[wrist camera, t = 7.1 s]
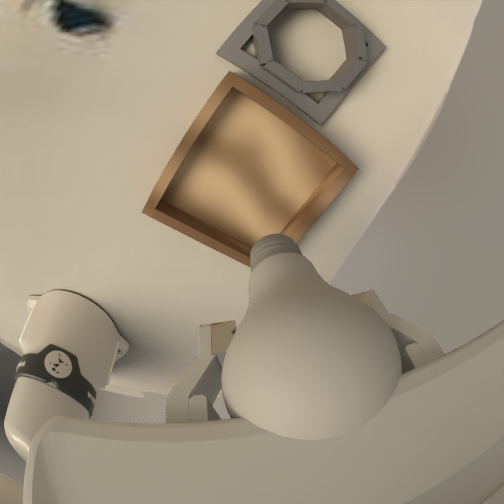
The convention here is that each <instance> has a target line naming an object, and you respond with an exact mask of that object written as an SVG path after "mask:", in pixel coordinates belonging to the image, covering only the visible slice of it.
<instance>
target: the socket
mask: <svg viewBox="0 0 504 504" xmlns="http://www.w3.org/2000/svg"><path fill="white" fill-rule="evenodd" d="M282 9H316V10H318V11H319V12H320V13H322V14H323V15H324V16H326V17H327V18H328V19H330V20H331V21H332V22H333V23H335V24H336V25H337V26H338V27H339V28H341V29H342V33H343V38H344V44H345V50H346V56H347V59H346V60H345V62H344V63H343V64H342V65H341V66H340V68H339V69H338V70H337V71H336V72H335V73H334V75H333V76H332V77H331V78H330V79H329V80H327V81H309V82H303V81H302V80H301V79H299V78H298V77H297V76H295V75H294V74H293V73H291V72H290V71H288V70H287V69H286V68H284V67H283V66H281V65H280V64H279V63H277V62H276V61H274V60H273V56H272V50H271V45H270V40H269V35H268V30H267V25H268V24H269V23H270V22H271V21H272V20H273V19H274V18H275V17H276V16H277V15H278V13H279V12H280V11H281V10H282ZM251 36H252V39H253V44H254V49H255V54H256V58H254V57H252V56H251V55H249V54H248V53H246V52H244V51H243V50H241V48H242V46H243V45H244V44H245V43H246V42H247V40H248V39H249V38H250V37H251ZM385 47H386V46H385V45H384V44H383V43H382V42H381V41H380V40H379V39H378V38H377V37H376V36H375V35H374V34H373V33H372V32H371V31H370V30H369V29H368V28H367V27H366V26H365V25H363V24H362V23H361V22H360V21H359V20H358V19H357V18H356V17H355V16H353V15H352V14H351V13H350V12H349V11H347V10H346V9H345V8H344V7H343V6H341V5H340V4H339V3H338V2H336V1H335V0H262V1H261V2H260V3H259V4H258V5H257V6H256V7H255V8H254V9H253V10H252V11H251V13H250V14H249V15H248V16H247V17H246V18H245V19H244V20H243V21H242V22H241V24H240V25H239V26H238V27H237V28H236V29H235V31H234V32H233V33H232V34H231V35H230V36H229V38H228V39H227V40H226V41H225V43H224V44H223V45H222V46H221V48H220V49H219V50H218V51H217V53H216V54H217V55H218V56H220V57H222V58H224V59H225V60H227V61H229V62H230V63H232V64H234V65H235V66H237V67H239V68H240V69H242V70H244V71H245V72H247V73H248V74H250V75H251V76H253V77H255V78H256V79H258V80H259V81H261V82H262V83H264V84H265V85H267V86H268V87H270V88H271V89H272V90H274V91H275V92H277V93H278V94H280V95H281V96H282V97H284V98H285V99H286V100H288V101H289V102H291V103H292V104H293V105H295V106H296V107H297V108H299V109H300V110H301V111H302V112H304V113H305V114H306V115H308V116H309V117H310V118H311V119H313V120H314V121H315V122H316V123H318V124H319V125H322V124H323V122H324V121H325V120H326V119H327V117H328V116H329V115H330V114H331V112H332V111H333V110H334V109H335V107H336V106H337V105H338V104H339V102H340V101H341V100H342V99H343V97H344V96H345V95H346V94H347V93H348V91H349V90H350V89H351V88H352V86H353V85H354V84H355V83H356V82H357V80H358V79H359V78H360V77H361V76H362V74H363V73H364V72H365V71H366V69H367V68H368V67H369V66H370V65H371V64H372V62H373V61H374V60H375V59H376V58H377V56H378V55H379V54H380V53H381V52H382V50H383V49H384V48H385ZM324 91H326V92H325V93H324V95H323V96H322V97H321V98H320V99H319V101H318V102H317V103H316V102H315V101H314V100H313V99H311V98H310V97H309V96H308V95H306V94H305V93H310V92H324Z"/></svg>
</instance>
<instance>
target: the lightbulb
mask: <svg viewBox="0 0 504 504" xmlns="http://www.w3.org/2000/svg"><path fill="white" fill-rule="evenodd" d="M250 265H251V272H252V273H251V276H250V279H249V294H250V297H249V306H248V309H247V313H246V315H245V317H244V318H243V320H242V322H241V323H240V325H239V327H238V328H237V330H236V332H235V334H234V336H233V338H232V340H231V342H230V344H229V346H228V348H227V350H226V354H225V358H224V363H223V368H222V374H221V384H222V393H223V398H224V401H225V405H226V407H227V411H228V413H229V415H230V417H231V419H232V418H244V419H247V420H249V421H250V422H252V423H253V424H255V425H256V426H258V427H260V428H262V429H265V430H268V431H270V432H273V433H275V434H277V435H280V436H284V437H289V438H296V439H303V440H320V439H326V438H332V437H336V436H339V435H343V434H345V433H348V432H350V431H353V430H355V429H357V428H359V427H361V426H363V425H364V424H366V423H367V422H368V421H369V420H371V419H372V418H373V417H374V416H375V415H376V414H377V413H378V412H379V411H380V410H381V409H382V408H383V407H384V406H385V405H386V404H387V403H388V401H389V399H390V397H391V396H392V394H393V392H394V390H395V389H396V387H397V384H398V381H399V378H400V376H401V374H402V364H401V356H400V353H399V349H398V345H397V342H396V339H395V336H394V334H393V333H392V331H391V329H390V327H389V325H388V324H387V323H386V322H385V321H384V320H383V319H382V318H381V317H380V316H379V315H378V314H377V313H376V312H375V311H374V310H373V309H372V308H371V307H370V306H369V305H367V304H366V303H364V302H362V301H360V300H359V299H357V298H355V297H353V296H351V295H350V294H348V293H345V292H344V291H342V290H339V289H337V288H334V287H332V286H331V285H329V284H328V283H327V282H325V281H324V280H323V279H322V277H321V276H320V275H319V274H318V273H317V271H316V269H315V268H314V266H313V264H312V263H311V262H310V261H309V260H308V259H307V258H306V257H304V256H303V255H302V253H301V251H300V250H299V248H298V246H297V244H296V243H295V242H294V240H293V239H292V238H290V237H289V236H287V235H284V234H270V235H267V236H264V237H262V238H261V239H259V240H258V241H257V242H256V243H255V244H254V245H253V247H252V249H251V252H250Z"/></svg>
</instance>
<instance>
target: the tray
mask: <svg viewBox="0 0 504 504" xmlns="http://www.w3.org/2000/svg"><path fill="white" fill-rule="evenodd" d="M358 169H359V168H358V167H357V166H356V165H355V164H353V163H352V162H351V161H350V160H349V159H348V158H347V157H346V156H345V155H343V154H342V153H341V152H340V151H339V150H338V149H337V148H335V147H334V146H333V145H332V144H331V143H330V142H328V141H327V140H326V139H325V138H324V137H322V136H321V135H320V134H319V133H317V132H316V131H315V130H314V129H312V128H311V127H310V126H309V125H307V124H306V123H305V122H303V121H302V120H301V119H300V118H298V117H297V116H296V115H294V114H293V113H292V112H290V111H289V110H288V109H286V108H285V107H283V106H282V105H281V104H279V103H278V102H276V101H275V100H274V99H272V98H271V97H269V96H268V95H266V94H265V93H263V92H262V91H260V90H259V89H257V88H256V87H254V86H253V85H251V84H250V83H248V82H247V81H245V80H243V79H242V78H240V77H239V76H237V75H235V74H234V73H232V72H230V71H229V72H228V73H227V75H226V76H225V77H224V79H223V80H222V81H221V83H220V84H219V85H218V87H217V88H216V90H215V91H214V92H213V94H212V95H211V97H210V98H209V99H208V101H207V102H206V104H205V105H204V107H203V108H202V110H201V111H200V113H199V114H198V116H197V117H196V119H195V120H194V122H193V123H192V125H191V126H190V128H189V129H188V131H187V133H186V134H185V136H184V137H183V139H182V141H181V142H180V144H179V146H178V147H177V149H176V151H175V152H174V154H173V156H172V157H171V159H170V161H169V162H168V164H167V166H166V168H165V169H164V171H163V173H162V175H161V177H160V178H159V180H158V182H157V184H156V186H155V188H154V189H153V191H152V193H151V195H150V197H149V199H148V201H147V203H146V205H145V207H144V209H143V211H142V213H144V214H146V215H147V216H149V217H151V218H153V219H155V220H157V221H159V222H161V223H163V224H165V225H167V226H169V227H171V228H173V229H175V230H177V231H179V232H181V233H183V234H185V235H187V236H189V237H191V238H193V239H195V240H197V241H199V242H201V243H203V244H205V245H207V246H209V247H210V248H212V249H214V250H216V251H218V252H220V253H222V254H224V255H227V256H229V257H231V258H233V259H235V260H237V261H239V262H241V263H243V264H245V265H247V266H249V267H251V265H250V252H251V249H252V247H253V245H254V244H255V243H256V242H257V241H258V240H259V239H261V238H262V237H264V236H267V235H270V234H284V235H287V236H289V237H290V238H292V239H293V240H294V242H295V243H297V242H298V241H299V240H300V239H301V237H302V236H303V235H304V234H305V233H306V232H307V230H308V229H309V228H310V227H311V226H312V225H313V223H314V222H315V221H316V220H317V219H318V217H319V216H320V215H321V214H322V213H323V212H324V210H325V209H326V208H327V207H328V206H329V204H330V203H331V202H332V201H333V200H334V198H335V197H336V196H337V195H338V194H339V192H340V191H341V190H342V189H343V187H344V186H345V185H346V184H347V183H348V181H349V180H350V179H351V178H352V177H353V175H354V174H355V173H356V172H357V170H358Z"/></svg>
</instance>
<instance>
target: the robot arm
mask: <svg viewBox="0 0 504 504" xmlns="http://www.w3.org/2000/svg"><path fill="white" fill-rule="evenodd" d="M351 296H353V297H355V298H357V299H359V300H360V301H362V302H364V303H366V304H367V305H369V306H370V307H371V308H372V309H373V310H374V311H375V312H376V313H377V314H378V315H379V316H380V317H381V318H382V319H383V320H384V321H385V322H386V323H387V324H388V325H389V327H390V329H391V331H392V333H393V334H394V336H395V339H396V342H397V345H398V349H399V353H400V356H401V364H402V374H401V376H400V378H399V381H398V384H397V387H396V389H395V390H394V392H393V394H392V396H391V397H390V399H389V401H388V403H387V404H386V405H385V406H384V407H383V408H382V409H381V410H380V411H379V412H378V413H377V414H376V415H375V416H374V417H373V418H372V419H371V420H369V421H368V422H367V423H366V424H364V425H363V426H361V427H359V428H357V429H355V430H353V431H350V432H348V433H345V434H343V435H339V436H336V437H332V438H326V439H320V440H303V439H296V438H289V437H284V436H280V435H277V434H275V433H273V432H270V431H268V430H265V429H262V428H260V427H258V426H256V425H255V424H253V423H252V422H250V421H249V420H247V419H244V418H232V419H224V420H221V418H220V417H219V415H218V414H217V412H216V411H215V409H214V408H213V406H212V405H213V403H214V401H215V399H216V397H217V395H218V393H219V391H220V389H221V387H222V384H221V374H222V368H223V363H224V358H225V354H226V350H227V348H228V346H229V344H230V342H231V340H232V338H233V336H234V334H235V332H236V330H237V326H236V323H235V320H234V321H227V322H220V323H213V324H207V325H200V327H199V357H195V358H194V360H193V361H192V362H191V364H190V365H189V367H188V368H187V369H186V371H185V372H184V374H183V375H182V376H181V378H180V379H179V381H178V382H177V383H176V385H175V386H174V388H173V389H172V390H171V392H170V393H169V394H168V396H167V406H166V423H161V424H160V423H159V424H146V423H144V424H142V423H117V422H103V421H93V420H88V419H89V417H91V416H92V413H93V409H94V408H95V399H96V391H97V390H98V389H100V388H105V386H106V385H108V383H109V381H110V377H111V373H112V369H113V365H114V363H115V362H116V361H118V360H119V359H120V358H121V357H122V356H123V355H124V354H125V353H126V352H127V351H128V349H129V344H128V342H127V341H126V340H125V339H124V338H123V337H122V336H120V334H119V333H118V331H117V329H116V327H115V325H114V323H113V322H112V320H111V319H110V318H109V316H108V315H107V314H106V313H105V312H104V311H103V310H102V309H101V308H99V307H98V306H97V305H95V304H94V303H93V302H91V301H89V300H88V299H86V298H84V297H82V296H80V295H77V294H75V293H71V292H68V291H60V290H56V291H50V292H48V293H46V294H44V295H42V296H29V298H28V300H27V306H28V311H29V317H28V319H27V322H26V324H25V326H24V329H23V331H22V334H21V336H20V340H19V342H20V344H21V349H22V351H23V354H24V355H23V356H22V358H21V360H20V363H19V364H18V367H17V371H16V375H15V380H16V384H15V387H14V390H13V393H12V396H11V399H10V402H9V406H8V409H7V413H6V417H5V421H4V427H5V432H6V436H7V438H8V440H9V442H10V443H11V445H12V446H13V448H14V449H15V450H16V451H17V452H18V454H19V455H20V456H21V457H22V458H23V459H24V460H25V461H26V462H27V463H26V469H25V478H24V485H23V484H21V483H18V482H16V481H14V480H13V479H10V478H9V477H7V476H5V475H3V474H1V473H0V504H504V320H503V321H501V322H500V323H498V324H497V325H495V326H494V327H492V328H490V329H489V330H487V331H486V332H484V333H483V334H481V335H479V336H477V337H476V338H474V339H472V340H471V341H469V342H467V343H465V344H464V345H462V346H460V347H458V348H456V349H454V350H453V351H451V352H449V353H447V354H444V352H443V350H442V349H441V347H440V345H439V344H438V343H437V341H436V339H435V338H434V336H433V335H432V334H431V333H429V332H426V331H425V330H423V329H421V328H419V327H417V326H415V325H413V324H411V323H409V322H407V321H406V320H404V319H402V318H400V317H398V316H396V315H394V314H389V313H388V311H387V310H386V308H385V307H384V305H383V304H382V302H381V301H380V299H379V297H378V296H377V295H376V293H375V292H374V291H373V290H369V291H366V292H362V293H358V294H354V295H351Z"/></svg>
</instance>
